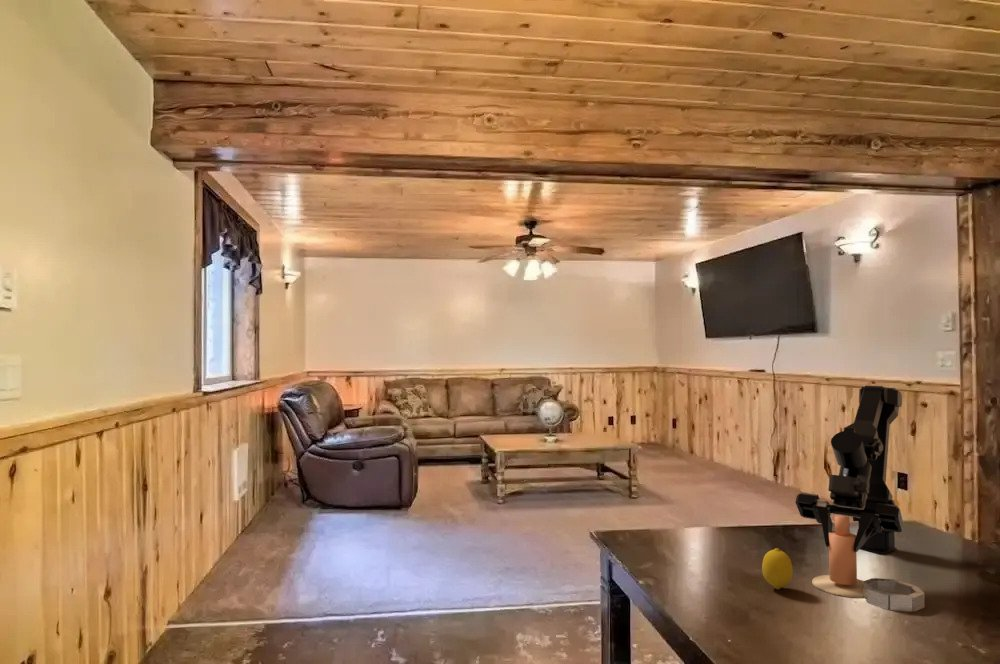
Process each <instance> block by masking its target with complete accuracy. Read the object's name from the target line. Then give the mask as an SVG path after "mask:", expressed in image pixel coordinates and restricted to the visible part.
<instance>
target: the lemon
mask: <svg viewBox="0 0 1000 664" xmlns="http://www.w3.org/2000/svg"><path fill="white" fill-rule="evenodd" d="M761 571H762V575H763V578H764V579H765V580H766V582H767V583H768V584H769V585H771V586H773V588H775V590H780V589H782V588H783V587H786V586H788V584H790V582H791V580H792V578H793V573H794V572H793V571H794V570H793V564H792V561H791V558H790V557H789V555H788V554H786V552H784V551H783V550H781V549H780V548H778V547H776V548H774V549H771V550H769V551H767V552H766V553H765V554H764V556H763V559H762V565H761Z"/></svg>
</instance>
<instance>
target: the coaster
mask: <svg viewBox="0 0 1000 664" xmlns="http://www.w3.org/2000/svg"><path fill="white" fill-rule="evenodd" d="M862 581H863V580H862V579H859V578H857V583H856V584H853V585H845V584H839V583H836V582H833V581H831V580H830V574H824V575H823V574H822V575H818V576H815V577H814V578H812V581H811V582H812V584H811V585H813V587H815V588H816V589H817V588H818V589H817V590H819V589H820V590H819V591H821V590H823V591H822V592H824V591H825V592H824V593H826V592H828V593H827V594H830V593H831V594H830V595H833V594H836V595H835V596H838V595H841V596H840V597H843V596H846V597H845V598H853V597H863V598H864V595H863V594H862Z"/></svg>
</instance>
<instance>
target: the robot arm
mask: <svg viewBox="0 0 1000 664" xmlns="http://www.w3.org/2000/svg"><path fill="white" fill-rule="evenodd" d="M858 391H859V393H858V394H859V395H858V407H857V411H856V414H855V417H854V421H853V422H852V423H850V424H849V425H847V426H845V427H844V428H843V430H842V431H839V432H837V433H836V434H834V435H833V436H832V437H831V440H830V445H831V448H832V451H833V455H834V457H835V460H836V462H837V465H838V466H840V468H839V472H838V474H830V475H829V477H828V478H829V481H828V489H827V490H828V492H830V493H829V498H830V500H833V502H828V501H827V500H823V499H820V496H819V494H814V493H806V492H799V494H797V495H796V498H795V505H796V508H797V510H798V512H799V516H800V517H802V518H805V519H810V520H816V523H818V524H820V525H821V527H822V532H823V533H822V534H823V539H824V544H825V547H826V548H829V532H831V531H833V526H834V525H833V524H834V523H833V521H832V518H831V516H832V514H833V515H844V516H848V517H852V521H853V522H858V525H857V526H858V529H857V531H856V534H855V535H856V538H855V542H854V552H856V553H857V552H858V551H859V550H865V551H868V552H872V553H874V554H875V553H876V554H880V555H884V554H888V553H891V552H895V551H897V547H896V546H895V544H896V543H895V533H901V532H903V525H904V522H903V521H904V520H903V516H902V512H901V509H900V507H899V506H898V505H897V504H896V502H895V499H893V497H894V496H893V494H892V492H891V491H890V489H889V486H888V485H887V481H886V480H887V469H888V468H887V467H888V456H889V454H888V452H889V443H890V441H889V440H890V428H891V424H892V423H893V422H894V421H895V420H896V419H897V417H898V416H899V410H900V408H902V404H903V394H902V392H900V390H897V388H895V387H885V386H883V385H863V386H861V388H859V389H858Z"/></svg>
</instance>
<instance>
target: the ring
mask: <svg viewBox="0 0 1000 664" xmlns="http://www.w3.org/2000/svg"><path fill="white" fill-rule="evenodd" d="M862 594H863V595H864V597H863V599H864V598H865V599H866V600H865V599H864V600H865V602H866V603H868V604H871V605H874V606H876V607H879V608H882V609H886V610H890V611H896V612H909V613H912V612H913V613H914V612H916V611H919V610H922V609H925V605H926V604H925V592H924V591H923V590H922V589H921V588H920V587H919V586H917V585H916V584H911V583H908V582H905V581H902V580H899V579H891V578H880V577H879V578H877V577H873V578H868V579H866V580H862Z"/></svg>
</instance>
